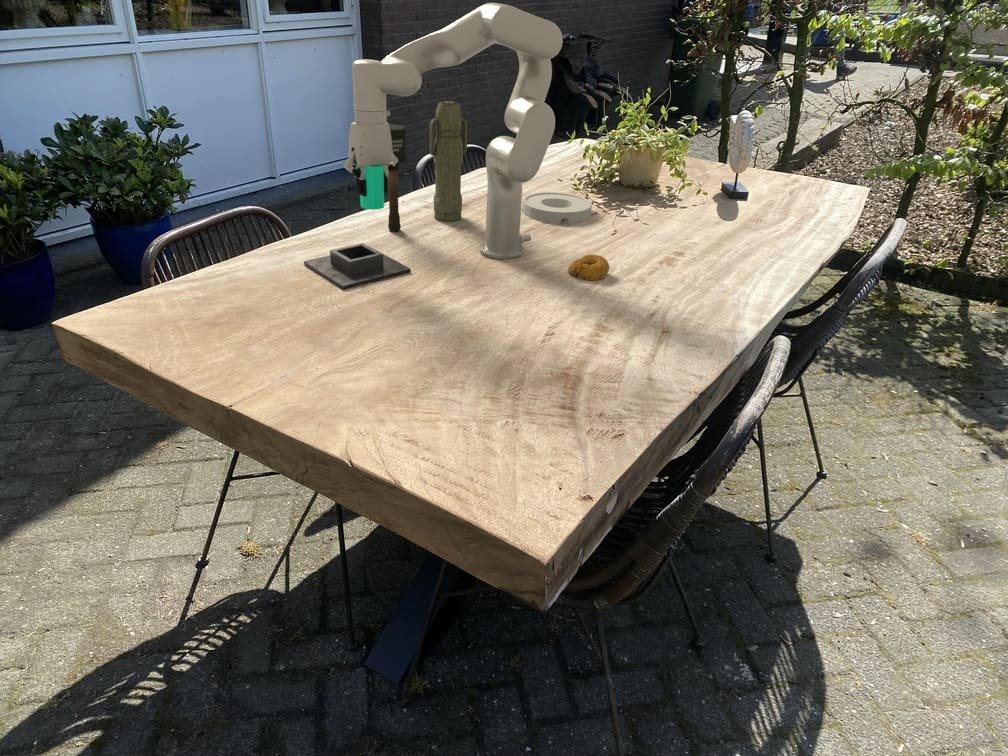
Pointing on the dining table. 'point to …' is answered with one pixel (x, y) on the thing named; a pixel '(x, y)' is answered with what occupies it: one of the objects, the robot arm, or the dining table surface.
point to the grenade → (396, 174)
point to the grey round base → (556, 207)
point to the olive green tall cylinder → (448, 160)
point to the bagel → (589, 267)
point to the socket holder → (356, 266)
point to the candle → (373, 188)
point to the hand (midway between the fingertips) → (372, 192)
